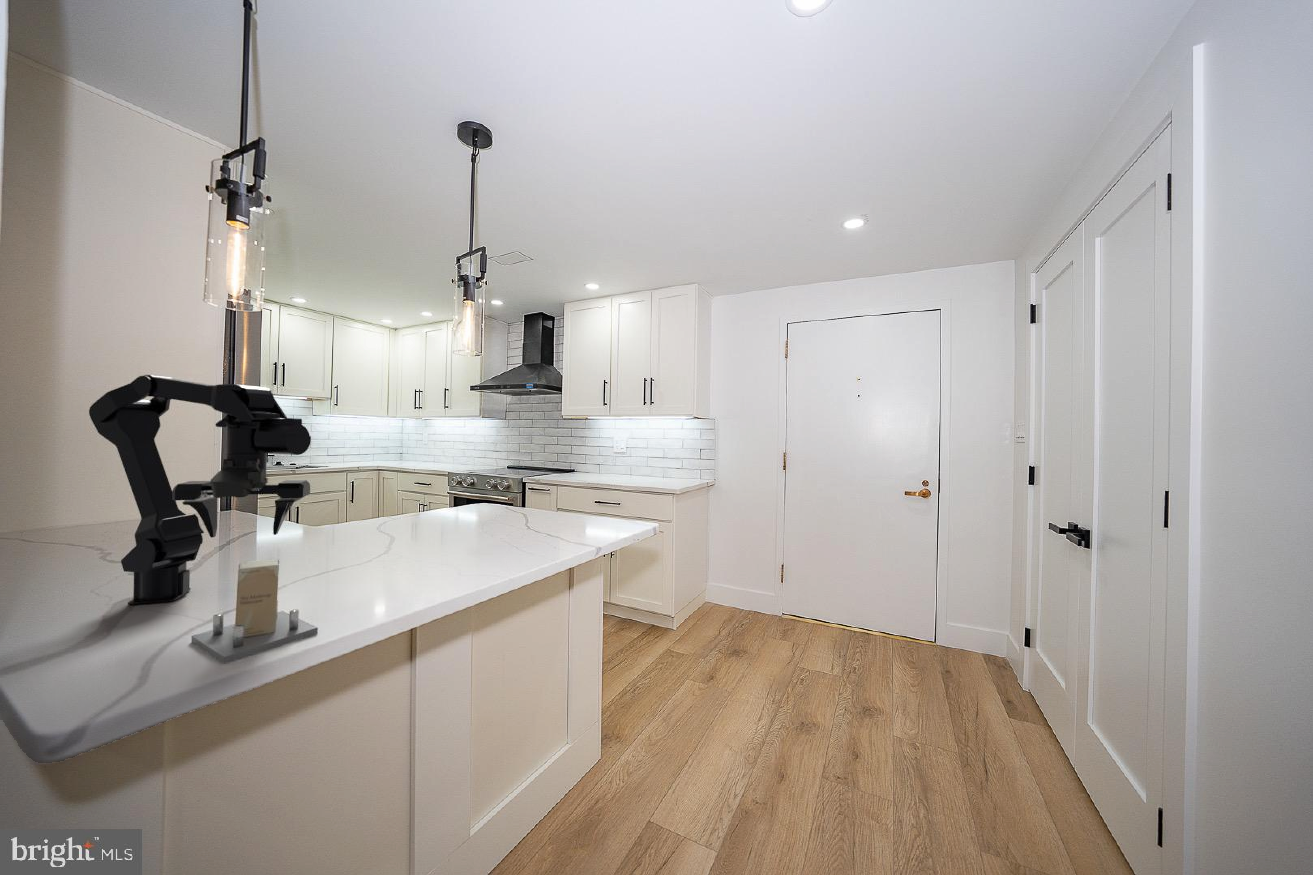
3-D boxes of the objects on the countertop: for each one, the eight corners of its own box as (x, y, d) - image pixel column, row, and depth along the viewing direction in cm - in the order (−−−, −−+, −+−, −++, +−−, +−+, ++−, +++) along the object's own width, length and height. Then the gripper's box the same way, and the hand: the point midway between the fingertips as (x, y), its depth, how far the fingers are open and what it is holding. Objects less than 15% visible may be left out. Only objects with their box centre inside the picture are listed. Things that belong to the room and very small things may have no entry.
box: (233, 639, 72) (235, 568, 72) (235, 629, 76) (237, 561, 75) (277, 631, 76) (279, 563, 75) (277, 622, 79) (279, 557, 79)
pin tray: (224, 663, 67) (224, 636, 67) (191, 641, 73) (192, 616, 73) (317, 633, 78) (318, 609, 78) (282, 616, 84) (283, 594, 84)
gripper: (154, 454, 76) (153, 550, 77) (295, 456, 84) (293, 542, 84) (189, 450, 87) (187, 534, 87) (311, 452, 94) (309, 529, 94)
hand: (245, 535), depth 88 cm, fingers open, 9 cm apart
